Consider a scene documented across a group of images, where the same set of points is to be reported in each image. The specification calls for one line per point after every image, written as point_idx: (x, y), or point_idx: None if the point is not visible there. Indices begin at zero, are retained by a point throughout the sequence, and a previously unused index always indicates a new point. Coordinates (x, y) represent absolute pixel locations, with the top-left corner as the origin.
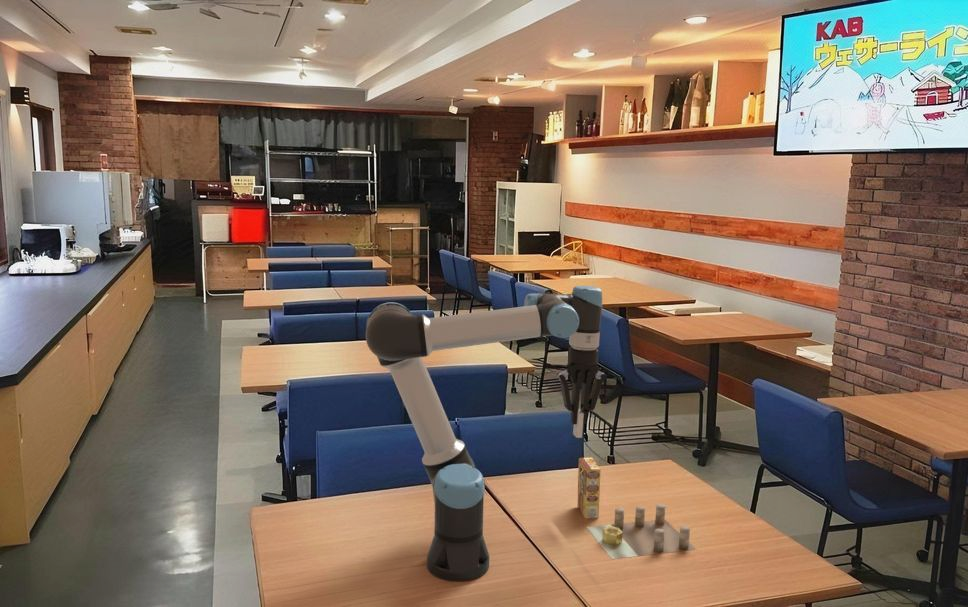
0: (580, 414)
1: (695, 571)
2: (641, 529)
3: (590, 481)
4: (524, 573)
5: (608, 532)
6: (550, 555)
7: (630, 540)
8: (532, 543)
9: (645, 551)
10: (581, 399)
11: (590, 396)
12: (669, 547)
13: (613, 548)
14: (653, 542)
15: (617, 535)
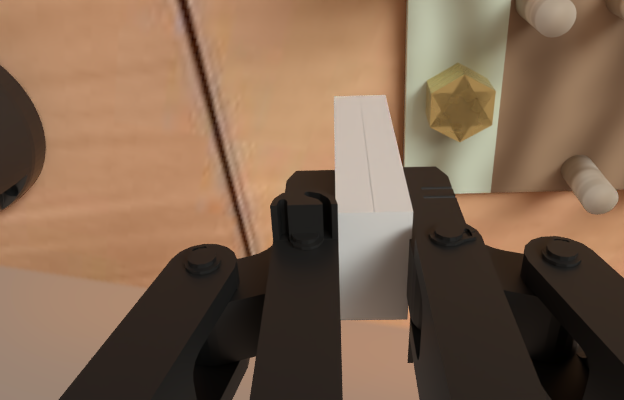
0: (366, 310)
1: (611, 257)
2: (609, 31)
3: None
4: (144, 193)
5: (441, 117)
6: (234, 117)
7: (520, 102)
8: (189, 34)
9: (527, 173)
10: (433, 345)
11: (614, 390)
12: (619, 163)
13: (436, 141)
14: (590, 126)
15: (463, 139)
